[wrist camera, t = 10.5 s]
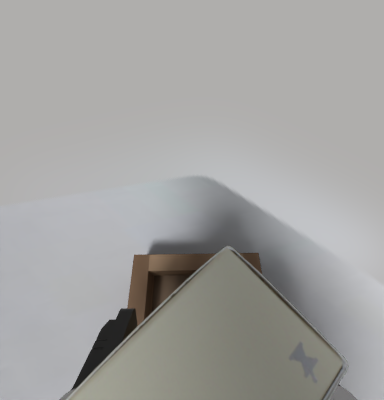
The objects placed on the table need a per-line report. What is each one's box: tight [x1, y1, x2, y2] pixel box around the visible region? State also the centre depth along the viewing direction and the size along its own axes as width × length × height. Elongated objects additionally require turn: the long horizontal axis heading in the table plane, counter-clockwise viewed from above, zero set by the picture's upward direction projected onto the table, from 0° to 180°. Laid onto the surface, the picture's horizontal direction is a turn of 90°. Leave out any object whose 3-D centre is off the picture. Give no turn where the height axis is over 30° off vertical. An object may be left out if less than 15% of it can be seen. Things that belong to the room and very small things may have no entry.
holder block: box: [127, 253, 262, 325], centre depth 18 cm, size 12×12×4 cm
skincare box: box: [65, 246, 348, 400], centre depth 10 cm, size 6×4×12 cm
